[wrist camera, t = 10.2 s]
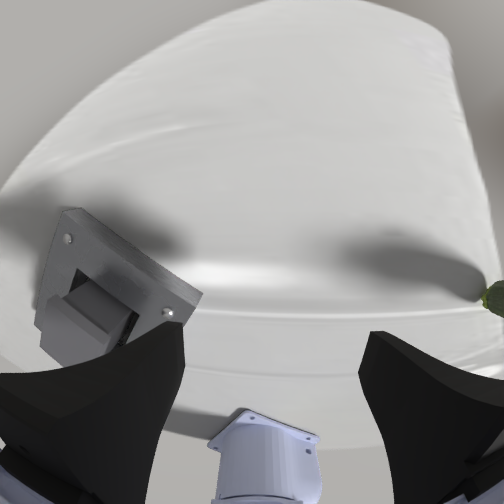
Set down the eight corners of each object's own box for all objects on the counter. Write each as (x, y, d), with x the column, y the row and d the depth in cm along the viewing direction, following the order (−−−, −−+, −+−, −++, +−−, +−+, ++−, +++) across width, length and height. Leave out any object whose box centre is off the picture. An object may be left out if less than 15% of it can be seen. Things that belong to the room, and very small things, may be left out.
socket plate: (203, 293, 20) (194, 310, 17) (144, 385, 22) (133, 406, 19) (81, 207, 18) (58, 212, 16) (48, 314, 21) (30, 326, 18)
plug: (145, 299, 20) (103, 345, 13) (126, 337, 21) (88, 386, 14) (100, 267, 20) (47, 299, 13) (85, 308, 21) (39, 346, 14)
